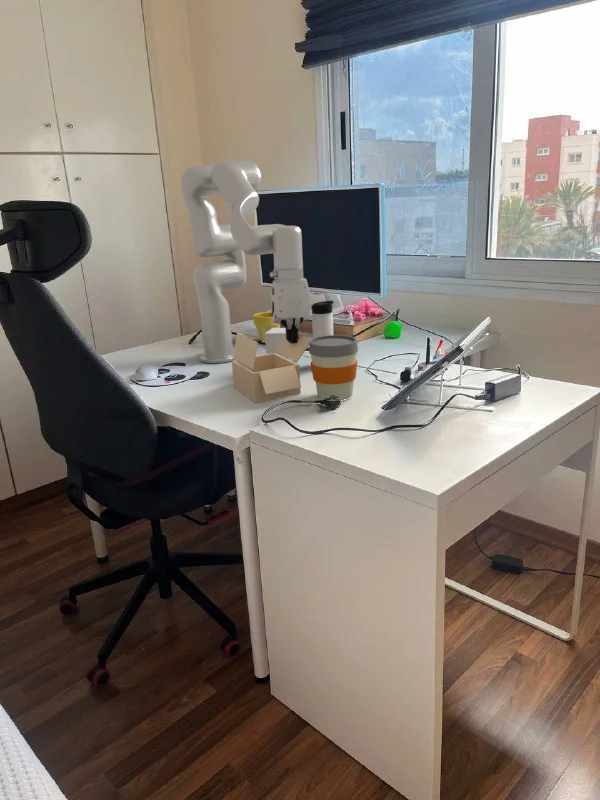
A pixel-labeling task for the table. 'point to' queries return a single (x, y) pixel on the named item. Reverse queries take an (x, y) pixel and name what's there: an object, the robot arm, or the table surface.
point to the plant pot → (264, 323)
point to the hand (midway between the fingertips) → (292, 342)
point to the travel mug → (322, 319)
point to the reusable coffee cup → (334, 365)
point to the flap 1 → (245, 350)
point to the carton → (267, 378)
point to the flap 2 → (294, 347)
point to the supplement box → (275, 341)
